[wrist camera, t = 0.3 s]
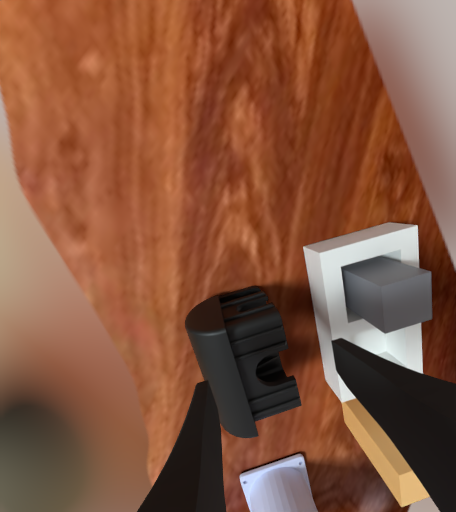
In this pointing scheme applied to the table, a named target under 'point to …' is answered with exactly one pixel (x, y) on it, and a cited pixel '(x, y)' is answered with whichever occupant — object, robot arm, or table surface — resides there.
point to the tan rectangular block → (383, 454)
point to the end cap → (242, 358)
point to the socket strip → (335, 298)
